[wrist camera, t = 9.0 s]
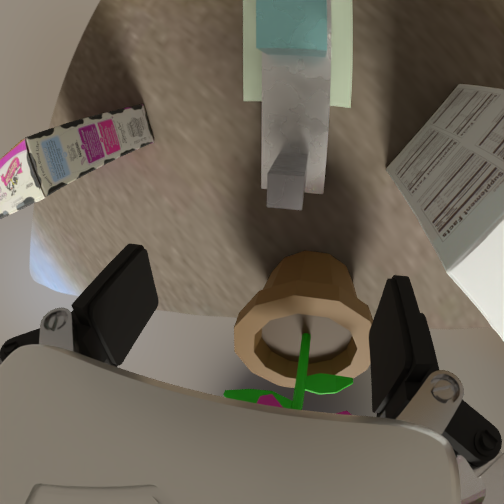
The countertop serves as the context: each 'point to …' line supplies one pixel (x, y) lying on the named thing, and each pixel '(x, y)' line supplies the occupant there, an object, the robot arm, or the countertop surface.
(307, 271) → the flowerpot
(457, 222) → the supplement box
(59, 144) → the candy bar box
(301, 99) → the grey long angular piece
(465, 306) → the countertop surface
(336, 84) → the board
